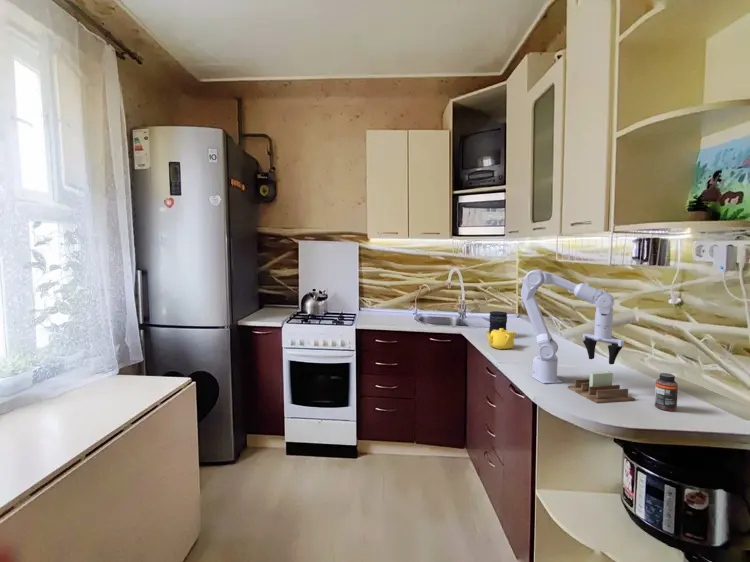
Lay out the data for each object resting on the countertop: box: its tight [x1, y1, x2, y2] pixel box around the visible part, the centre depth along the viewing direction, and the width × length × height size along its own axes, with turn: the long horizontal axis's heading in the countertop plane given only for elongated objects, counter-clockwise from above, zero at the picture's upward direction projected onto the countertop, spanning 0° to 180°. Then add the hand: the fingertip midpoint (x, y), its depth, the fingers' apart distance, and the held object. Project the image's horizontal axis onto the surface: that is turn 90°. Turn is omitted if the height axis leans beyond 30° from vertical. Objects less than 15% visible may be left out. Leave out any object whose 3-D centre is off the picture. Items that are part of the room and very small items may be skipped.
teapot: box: [485, 328, 517, 350], centre depth 213 cm, size 14×13×10 cm
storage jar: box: [488, 310, 508, 334], centre depth 236 cm, size 10×10×15 cm
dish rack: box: [567, 378, 636, 404], centre depth 146 cm, size 15×15×4 cm
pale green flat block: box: [589, 371, 614, 387], centre depth 146 cm, size 2×8×7 cm, turn 101°
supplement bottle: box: [654, 372, 679, 412], centre depth 133 cm, size 6×6×11 cm
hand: (601, 361), depth 151 cm, fingers open, 7 cm apart
